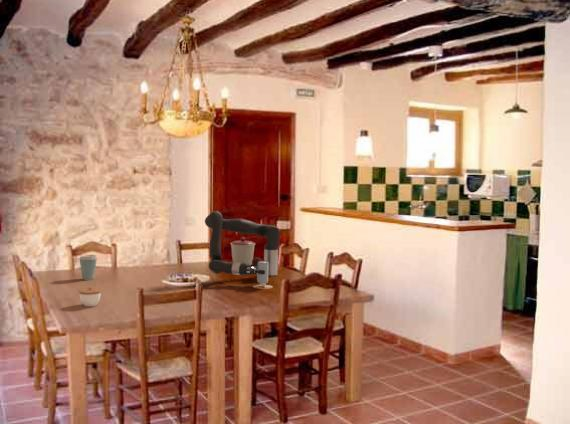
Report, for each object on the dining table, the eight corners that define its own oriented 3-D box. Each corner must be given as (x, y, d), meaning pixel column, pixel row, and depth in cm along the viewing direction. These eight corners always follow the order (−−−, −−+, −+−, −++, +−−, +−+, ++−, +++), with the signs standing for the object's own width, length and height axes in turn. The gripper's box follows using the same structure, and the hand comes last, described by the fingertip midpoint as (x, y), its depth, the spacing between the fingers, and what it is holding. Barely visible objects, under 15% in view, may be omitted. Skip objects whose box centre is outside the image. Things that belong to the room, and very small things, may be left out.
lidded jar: (82, 302, 315) (82, 285, 314) (103, 302, 316) (103, 285, 315) (76, 307, 305) (76, 289, 304) (98, 307, 305) (98, 289, 305)
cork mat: (256, 284, 371) (256, 284, 371) (275, 286, 367) (275, 285, 367) (250, 288, 359) (250, 287, 359) (269, 290, 356) (269, 289, 356)
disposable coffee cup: (78, 280, 370) (78, 256, 369) (80, 277, 381) (80, 254, 379) (96, 280, 372) (96, 256, 371) (97, 277, 383) (97, 253, 382)
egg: (261, 285, 365) (261, 280, 365) (266, 286, 364) (266, 280, 364) (259, 287, 362) (259, 281, 362) (264, 287, 361) (264, 281, 361)
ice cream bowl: (264, 282, 379) (265, 258, 378) (247, 281, 381) (248, 257, 380) (268, 279, 389) (269, 256, 388) (251, 278, 391) (252, 255, 390)
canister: (260, 266, 437) (260, 237, 435) (241, 269, 423) (242, 239, 422) (243, 263, 449) (243, 235, 447) (224, 265, 436) (225, 236, 434)
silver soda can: (259, 280, 367) (260, 261, 366) (269, 281, 365) (269, 261, 364) (255, 282, 361) (256, 262, 360) (265, 283, 359) (266, 263, 358)
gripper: (236, 264, 359) (263, 267, 354) (245, 261, 373) (270, 263, 368) (236, 277, 360) (262, 279, 355) (244, 273, 374) (270, 275, 369)
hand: (266, 271), depth 362 cm, fingers closed on silver soda can, 6 cm apart
